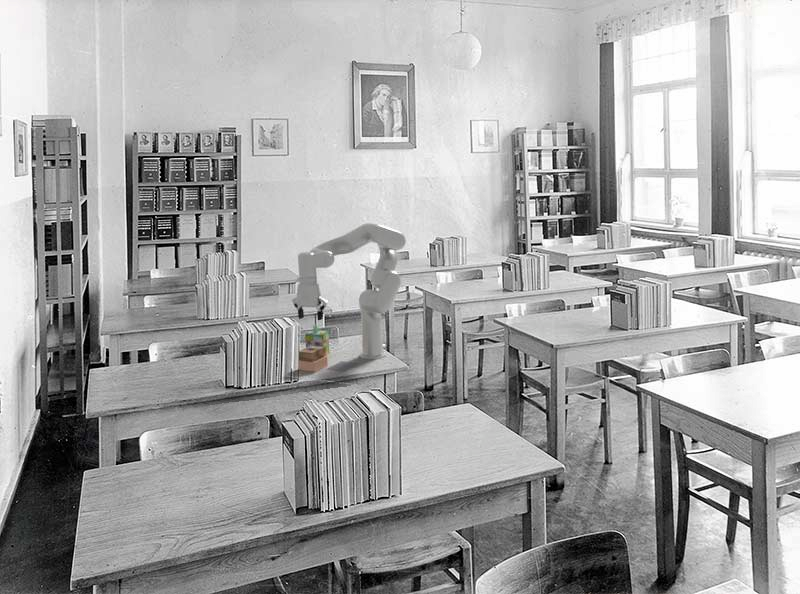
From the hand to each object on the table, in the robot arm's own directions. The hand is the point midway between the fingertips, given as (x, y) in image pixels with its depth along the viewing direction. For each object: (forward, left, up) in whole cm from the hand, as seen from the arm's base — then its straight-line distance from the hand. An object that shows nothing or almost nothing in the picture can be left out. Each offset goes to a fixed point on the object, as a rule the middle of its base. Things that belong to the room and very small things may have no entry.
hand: (310, 319), depth 322 cm
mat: (-7, +12, -23) cm, 26 cm away
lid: (0, 0, -18) cm, 18 cm away
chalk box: (-20, -9, -23) cm, 32 cm away
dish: (0, 0, -23) cm, 23 cm away
